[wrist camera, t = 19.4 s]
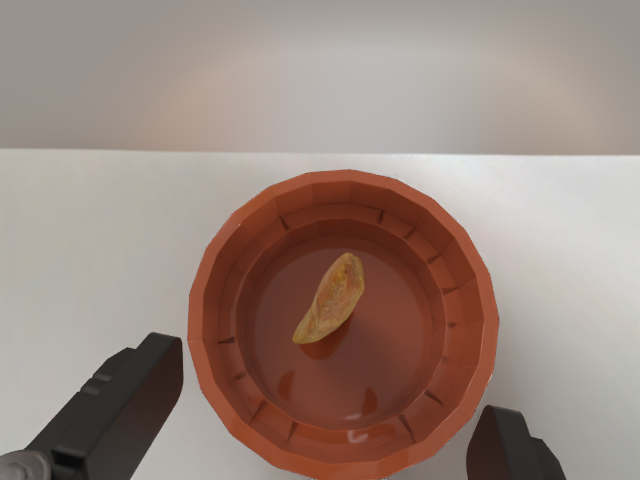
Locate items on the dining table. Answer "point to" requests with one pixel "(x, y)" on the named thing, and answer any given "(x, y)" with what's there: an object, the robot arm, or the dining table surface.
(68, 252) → the dining table surface
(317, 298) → the stone tool
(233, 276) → the mixing bowl
